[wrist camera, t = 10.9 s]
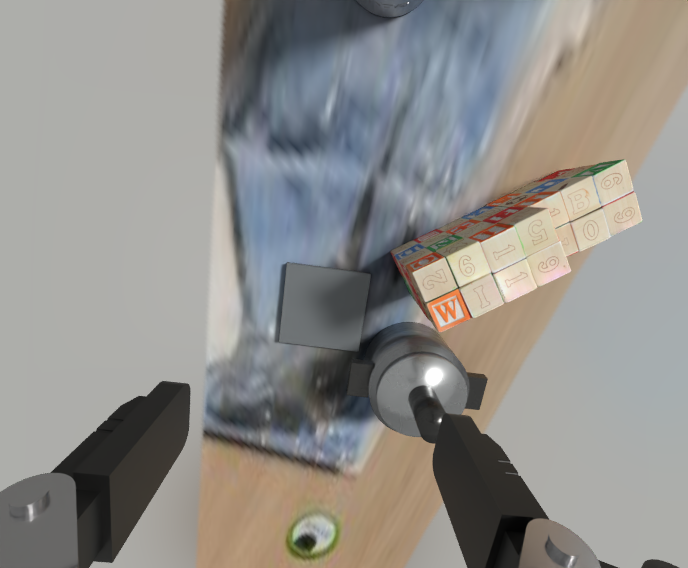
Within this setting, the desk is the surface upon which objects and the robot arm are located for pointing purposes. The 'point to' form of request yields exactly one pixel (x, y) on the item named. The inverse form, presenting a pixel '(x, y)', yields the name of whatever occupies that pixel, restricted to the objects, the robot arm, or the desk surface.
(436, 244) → the stack of blocks
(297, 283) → the plate
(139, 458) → the robot arm
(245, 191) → the desk surface
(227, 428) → the desk surface
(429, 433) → the lid
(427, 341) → the pot
